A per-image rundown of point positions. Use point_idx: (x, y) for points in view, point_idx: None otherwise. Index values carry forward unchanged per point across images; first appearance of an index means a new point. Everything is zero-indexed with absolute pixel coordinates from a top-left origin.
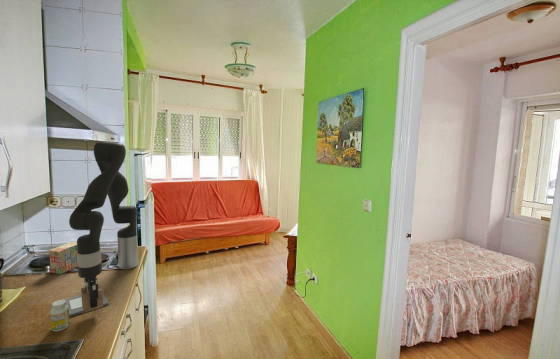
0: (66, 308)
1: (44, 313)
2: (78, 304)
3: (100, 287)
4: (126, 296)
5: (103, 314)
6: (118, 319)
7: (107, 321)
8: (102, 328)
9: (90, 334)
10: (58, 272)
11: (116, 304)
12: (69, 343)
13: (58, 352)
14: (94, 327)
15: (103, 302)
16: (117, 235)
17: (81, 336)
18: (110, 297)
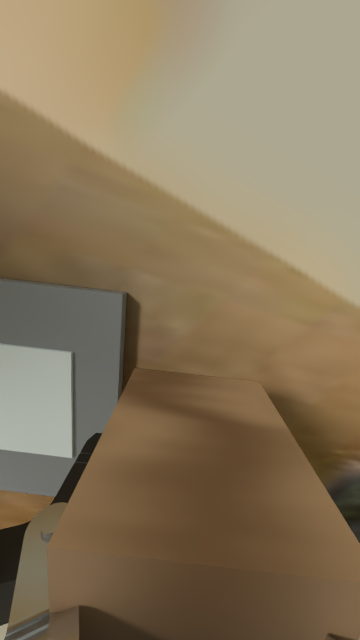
0: None
1: (13, 515)
2: (35, 422)
3: (253, 578)
4: (93, 154)
5: (216, 344)
6: (339, 300)
7: (305, 350)
8: (347, 386)
9: (346, 436)
10: None
11: (158, 251)
12: (334, 502)
13: (356, 536)
14: (303, 409)
15: (100, 315)
16: None
17: (326, 463)
18: (38, 250)
